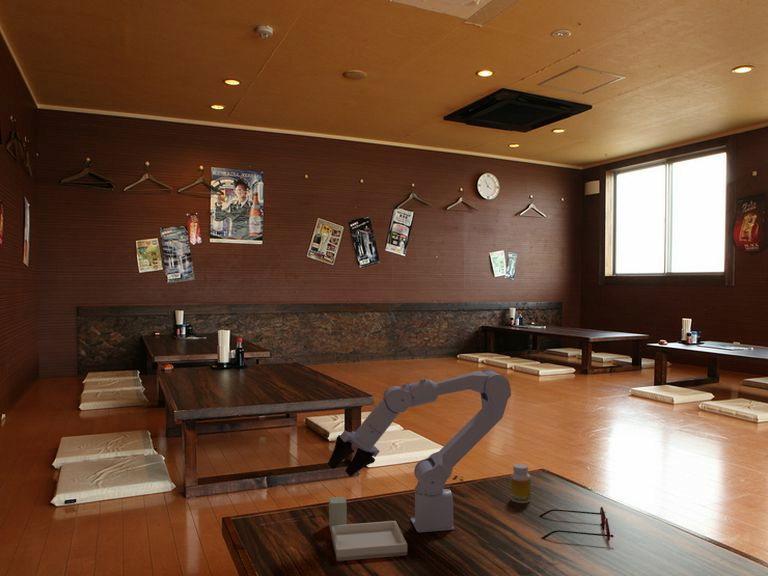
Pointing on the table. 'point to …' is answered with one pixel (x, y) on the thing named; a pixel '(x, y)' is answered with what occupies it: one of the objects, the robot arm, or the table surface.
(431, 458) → the robot arm
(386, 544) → the serving tray
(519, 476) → the supplement bottle
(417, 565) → the table surface
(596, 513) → the glasses
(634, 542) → the table surface
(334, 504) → the sage block
